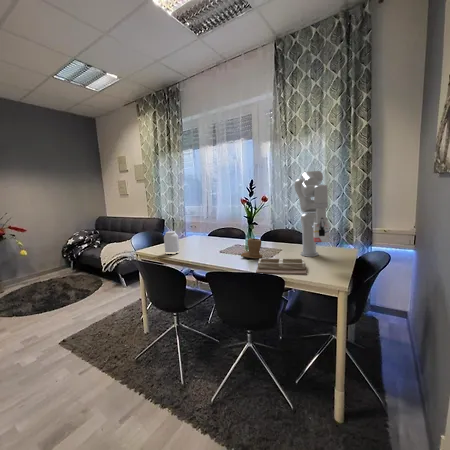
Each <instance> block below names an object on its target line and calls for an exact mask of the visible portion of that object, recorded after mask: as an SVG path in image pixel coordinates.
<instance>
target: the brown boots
mask: <svg viewBox="0 0 450 450" xmlns="http://www.w3.org/2000/svg"><path fill="white" fill-rule="evenodd" d="M247 248H248V252H243V253H241V254H240V257H242V258H247V259H258V260H259V259H262V258H263V255H262V254H261V253H260V250H261V248H262V239H260V238H251V237H250V238H248V240H247Z"/></svg>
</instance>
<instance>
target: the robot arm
mask: <svg viewBox="0 0 450 450" xmlns="http://www.w3.org/2000/svg"><path fill="white" fill-rule="evenodd" d="M323 178H324V176H323V173H322V171H320V170H314V171H313V170H311V171H310V170H309V171H305V172H303V173H302V174H301V176H300V178H298V179H296V180H295V181H294V190H295V193H296V194H297V196H298V197H297V198H298V199H299V205H300V209H301V212H302V215H300V223H301V224H300V225H301V231H302V236H301V237H302V251H301V252H300V256H303V257H310V258H311V257H317V256H319V252H317V242H314V218H316V223H317V225H318V224H319V236H325V229H324V225H325V224H326V217H327V211H326V210H327V209H328V208H329V206H328V205H329V203H328V200H329V197H328V195H329V193H328V191H329V189H328V186H327V185H325V184H321V183H322V182H323ZM312 198H314V199H312Z"/></svg>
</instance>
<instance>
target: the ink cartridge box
mask: <svg viewBox="0 0 450 450" xmlns="http://www.w3.org/2000/svg"><path fill="white" fill-rule="evenodd" d="M328 219H329V217H327V216H326V224H325V225H324V229H325V236H319V224H318V225H317V223H316V218H314V226H313V228H314V242H316V243H329V242H330V223H329V221H328Z"/></svg>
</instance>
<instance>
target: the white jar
mask: <svg viewBox="0 0 450 450" xmlns="http://www.w3.org/2000/svg"><path fill="white" fill-rule="evenodd" d="M163 243H164V253H165V252H177V251H179V250H180V241H179V235H178V233H176V231H175V230H170V231H166V232H165V234H164V236H163Z"/></svg>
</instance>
